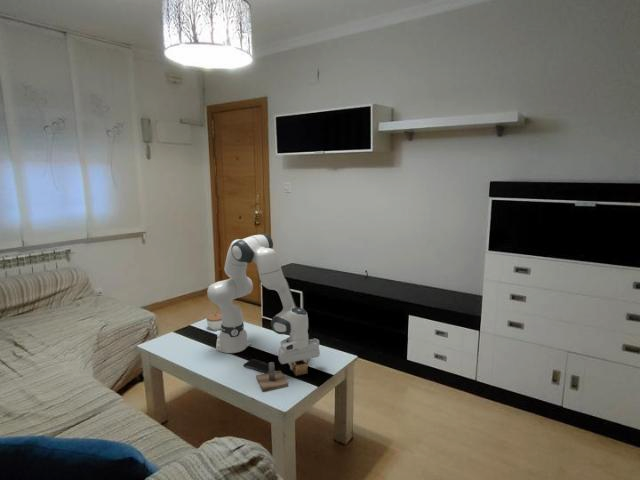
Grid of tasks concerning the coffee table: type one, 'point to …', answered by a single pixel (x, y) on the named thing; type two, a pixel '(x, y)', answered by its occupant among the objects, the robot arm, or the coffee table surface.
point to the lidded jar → (214, 321)
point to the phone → (257, 366)
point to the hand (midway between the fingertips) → (299, 367)
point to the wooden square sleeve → (300, 367)
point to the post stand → (271, 379)
